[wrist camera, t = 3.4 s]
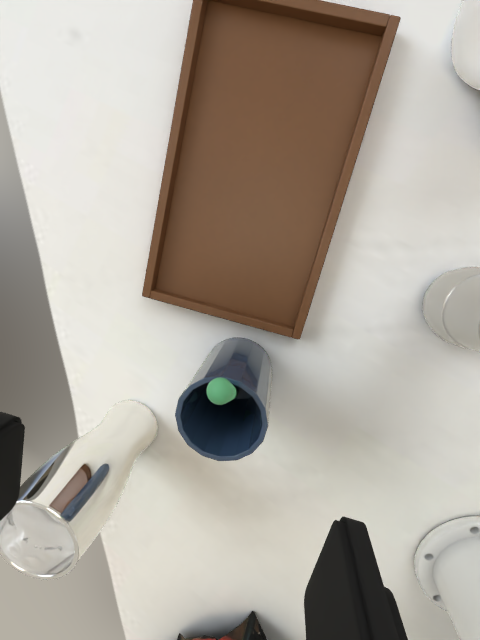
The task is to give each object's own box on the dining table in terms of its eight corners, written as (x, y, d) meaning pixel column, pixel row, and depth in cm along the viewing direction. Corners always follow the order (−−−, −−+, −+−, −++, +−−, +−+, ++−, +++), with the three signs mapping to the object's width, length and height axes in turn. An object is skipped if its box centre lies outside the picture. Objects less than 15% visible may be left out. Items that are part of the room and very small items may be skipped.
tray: (393, 31, 25) (401, 16, 24) (298, 335, 32) (299, 340, 30) (202, -9, 26) (197, -26, 25) (148, 293, 33) (141, 296, 31)
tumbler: (280, 348, 32) (278, 392, 23) (262, 407, 34) (253, 471, 24) (214, 329, 33) (185, 365, 23) (200, 389, 35) (168, 445, 25)
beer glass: (171, 413, 36) (94, 530, 21) (148, 461, 38) (63, 598, 23) (115, 385, 36) (0, 481, 21) (95, 433, 38) (-23, 552, 23)
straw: (237, 397, 34) (187, 559, 16) (226, 394, 34) (164, 552, 16) (261, 309, 31) (234, 388, 14) (249, 306, 31) (206, 380, 14)
